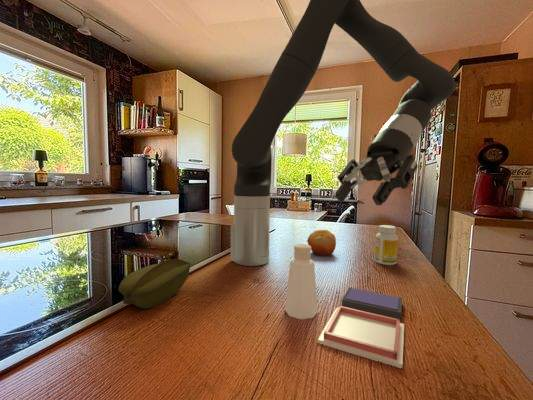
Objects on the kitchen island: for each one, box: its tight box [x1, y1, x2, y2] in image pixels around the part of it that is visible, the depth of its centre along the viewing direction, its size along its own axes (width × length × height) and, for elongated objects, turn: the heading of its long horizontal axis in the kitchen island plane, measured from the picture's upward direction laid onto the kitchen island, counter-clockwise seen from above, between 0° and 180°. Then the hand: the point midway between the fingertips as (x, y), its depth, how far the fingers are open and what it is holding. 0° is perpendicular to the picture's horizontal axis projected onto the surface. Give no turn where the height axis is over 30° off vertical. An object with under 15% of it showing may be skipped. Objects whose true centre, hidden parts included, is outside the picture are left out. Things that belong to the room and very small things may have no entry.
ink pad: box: [341, 287, 403, 321], centre depth 47 cm, size 9×6×1 cm, turn 62°
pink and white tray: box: [317, 305, 405, 369], centre depth 38 cm, size 10×10×1 cm
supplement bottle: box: [373, 224, 399, 266], centre depth 71 cm, size 5×5×10 cm
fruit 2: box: [306, 229, 337, 256], centre depth 78 cm, size 8×8×8 cm
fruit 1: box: [118, 258, 191, 310], centre depth 48 cm, size 11×12×7 cm
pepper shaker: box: [284, 243, 319, 320], centre depth 44 cm, size 5×5×11 cm
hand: (356, 200), depth 50 cm, fingers open, 8 cm apart
